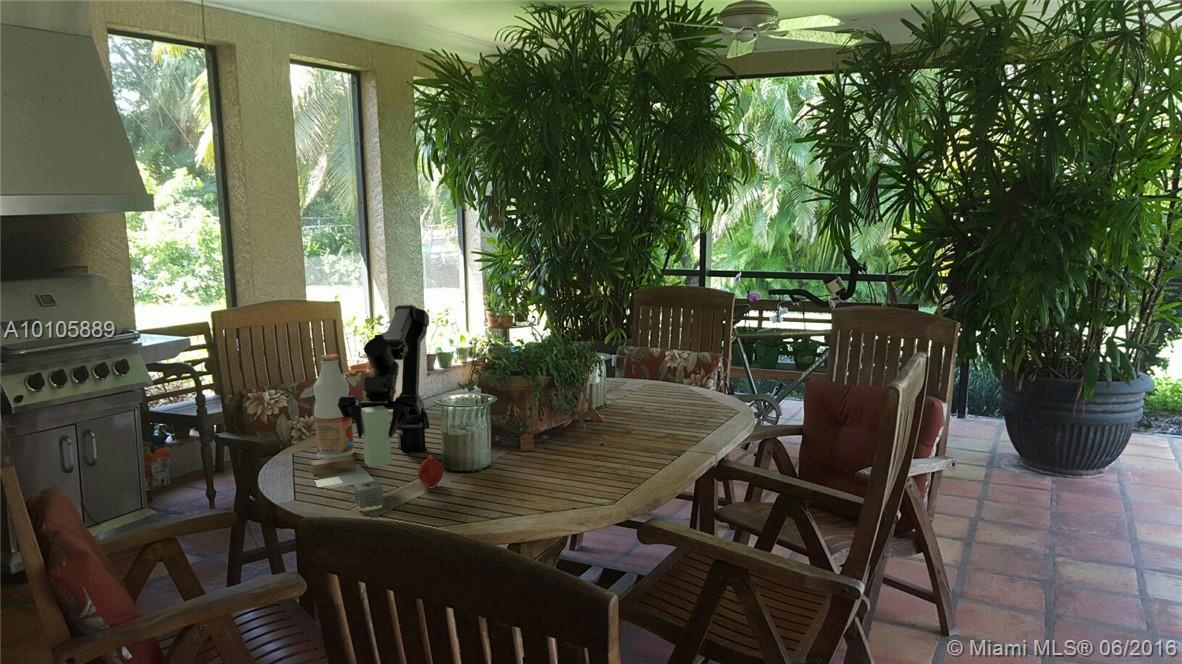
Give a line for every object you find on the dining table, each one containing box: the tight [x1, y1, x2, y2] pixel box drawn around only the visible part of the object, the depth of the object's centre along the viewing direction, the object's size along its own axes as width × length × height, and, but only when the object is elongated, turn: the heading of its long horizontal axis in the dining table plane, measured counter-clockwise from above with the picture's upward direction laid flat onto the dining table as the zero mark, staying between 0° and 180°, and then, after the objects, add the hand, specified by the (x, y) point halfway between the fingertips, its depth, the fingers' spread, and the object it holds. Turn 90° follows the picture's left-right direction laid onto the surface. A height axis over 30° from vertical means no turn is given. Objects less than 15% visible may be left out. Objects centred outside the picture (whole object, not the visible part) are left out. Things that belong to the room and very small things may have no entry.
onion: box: [417, 454, 444, 488], centre depth 196 cm, size 6×6×8 cm
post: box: [361, 406, 392, 468], centre depth 193 cm, size 5×5×13 cm
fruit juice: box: [312, 353, 355, 459], centre depth 220 cm, size 9×9×28 cm
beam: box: [309, 454, 356, 477], centre depth 206 cm, size 10×4×3 cm, turn 119°
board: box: [314, 463, 376, 490], centre depth 202 cm, size 14×16×1 cm
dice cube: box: [353, 480, 384, 508], centre depth 183 cm, size 5×5×5 cm
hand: (374, 437), depth 192 cm, fingers closed on post, 7 cm apart
